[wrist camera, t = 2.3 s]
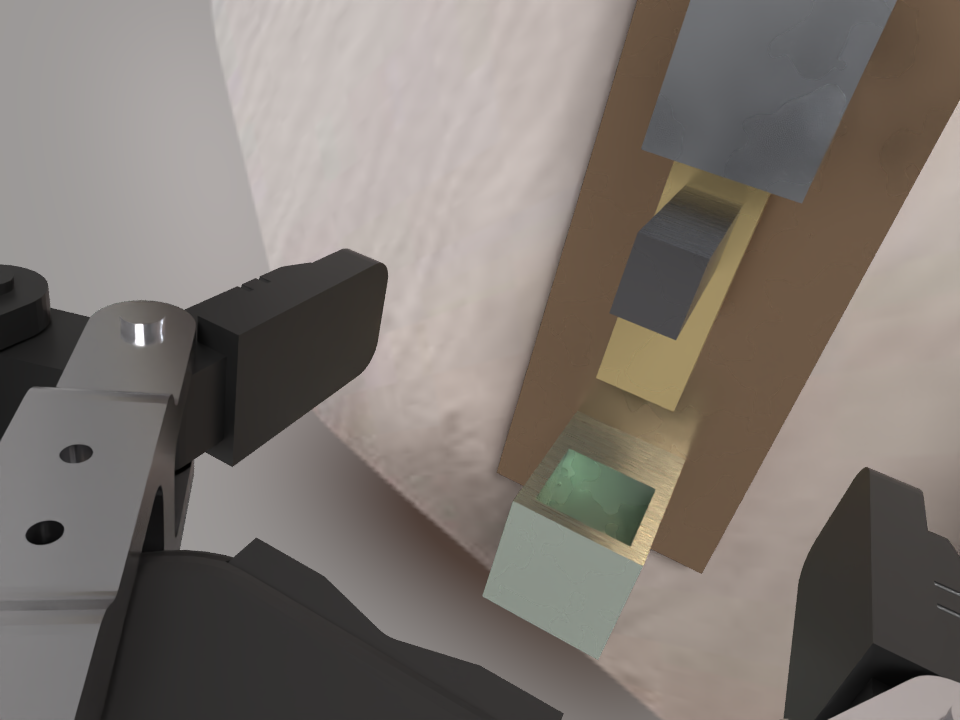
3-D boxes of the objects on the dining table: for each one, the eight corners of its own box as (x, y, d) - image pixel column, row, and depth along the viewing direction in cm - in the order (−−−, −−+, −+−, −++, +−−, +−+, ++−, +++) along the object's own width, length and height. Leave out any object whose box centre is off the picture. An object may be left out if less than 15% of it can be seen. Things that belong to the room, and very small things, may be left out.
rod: (891, -392, 16) (906, -651, 9) (1023, -378, 15) (1133, -648, 9) (618, 347, 25) (538, 457, 19) (690, 376, 25) (630, 501, 18)
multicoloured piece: (765, -382, 20) (711, -583, 13) (1184, -332, 17) (1392, -554, 10) (509, 456, 35) (424, 564, 29) (707, 552, 33) (665, 697, 26)
